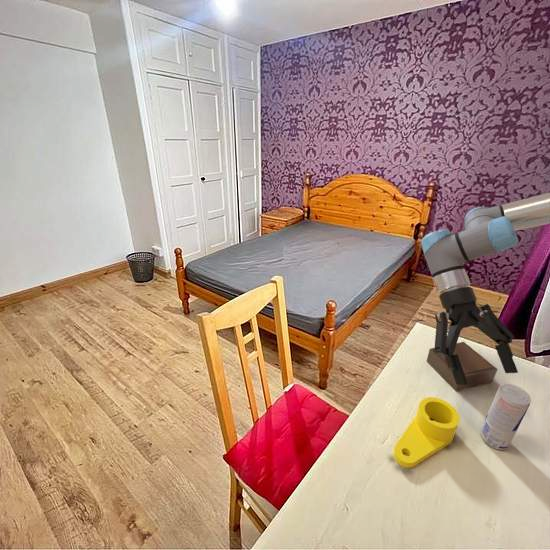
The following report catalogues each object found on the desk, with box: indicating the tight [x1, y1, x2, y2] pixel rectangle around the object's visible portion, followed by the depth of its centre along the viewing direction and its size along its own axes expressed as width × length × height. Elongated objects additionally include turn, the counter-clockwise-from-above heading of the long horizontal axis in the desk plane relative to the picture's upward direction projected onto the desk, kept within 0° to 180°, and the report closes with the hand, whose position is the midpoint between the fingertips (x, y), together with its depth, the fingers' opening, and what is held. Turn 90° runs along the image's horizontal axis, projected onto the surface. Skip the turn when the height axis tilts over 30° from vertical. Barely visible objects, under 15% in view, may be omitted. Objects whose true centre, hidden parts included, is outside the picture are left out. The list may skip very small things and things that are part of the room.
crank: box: [392, 396, 460, 469], centre depth 69 cm, size 18×8×6 cm, turn 125°
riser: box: [426, 341, 498, 392], centre depth 88 cm, size 12×12×5 cm
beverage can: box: [479, 383, 532, 451], centre depth 67 cm, size 6×6×15 cm
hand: (487, 378), depth 70 cm, fingers open, 13 cm apart
